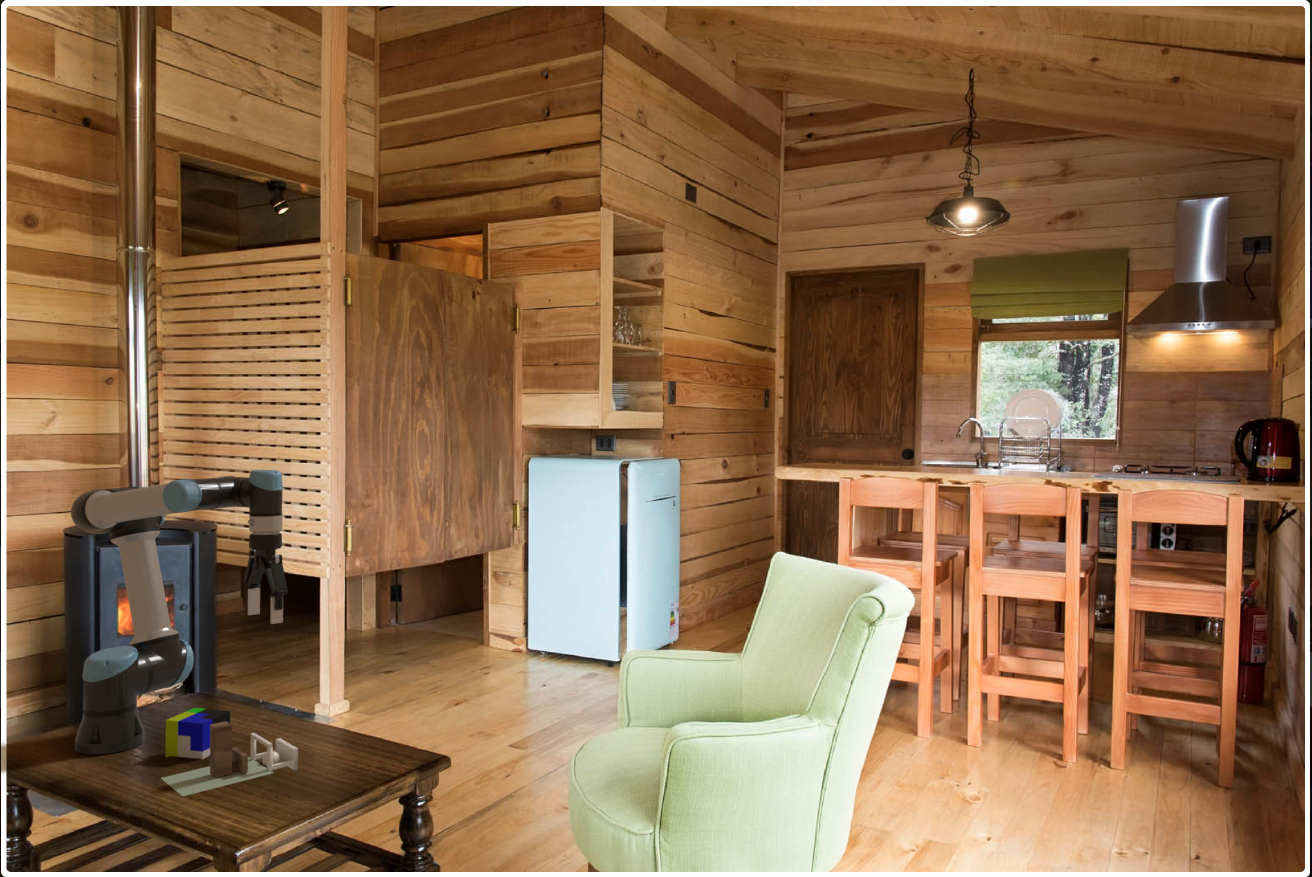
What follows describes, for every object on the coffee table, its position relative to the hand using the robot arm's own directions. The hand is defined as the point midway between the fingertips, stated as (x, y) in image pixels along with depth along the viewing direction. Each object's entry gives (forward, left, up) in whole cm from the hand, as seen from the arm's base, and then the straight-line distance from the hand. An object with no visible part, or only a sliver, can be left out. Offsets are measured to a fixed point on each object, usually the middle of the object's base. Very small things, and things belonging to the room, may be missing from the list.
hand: (265, 618), depth 230 cm
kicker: (+13, -14, -31) cm, 36 cm away
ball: (+13, -4, -31) cm, 34 cm away
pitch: (+13, -12, -33) cm, 37 cm away
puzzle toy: (-7, -13, -33) cm, 36 cm away
